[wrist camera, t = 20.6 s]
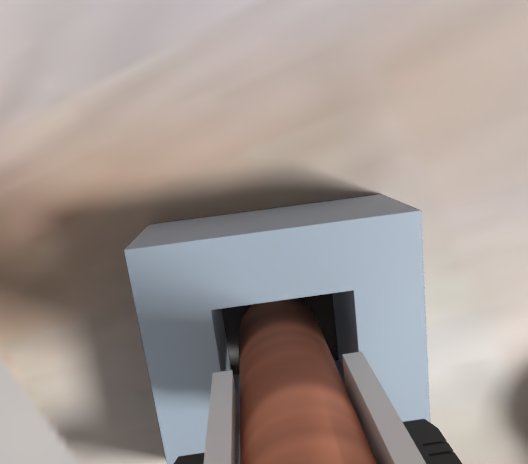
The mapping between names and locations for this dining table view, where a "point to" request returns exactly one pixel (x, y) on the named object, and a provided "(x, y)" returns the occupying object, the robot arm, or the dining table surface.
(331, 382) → the dowel
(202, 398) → the socket block
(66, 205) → the dining table surface
